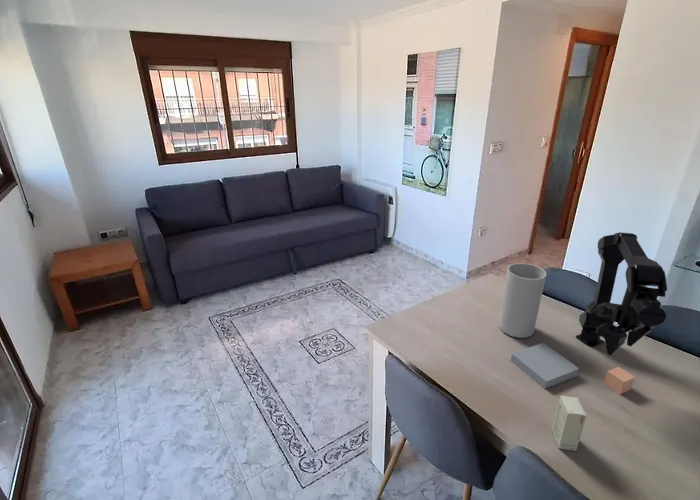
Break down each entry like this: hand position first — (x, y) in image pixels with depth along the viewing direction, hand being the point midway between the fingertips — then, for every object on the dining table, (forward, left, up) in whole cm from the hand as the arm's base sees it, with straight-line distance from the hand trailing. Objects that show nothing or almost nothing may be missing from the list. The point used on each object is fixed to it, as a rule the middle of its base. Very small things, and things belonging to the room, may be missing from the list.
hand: (619, 350), depth 109 cm
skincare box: (+29, +9, -13) cm, 34 cm away
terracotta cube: (-2, +2, -13) cm, 14 cm away
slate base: (+12, -13, -13) cm, 22 cm away
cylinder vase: (+4, -33, -13) cm, 36 cm away
